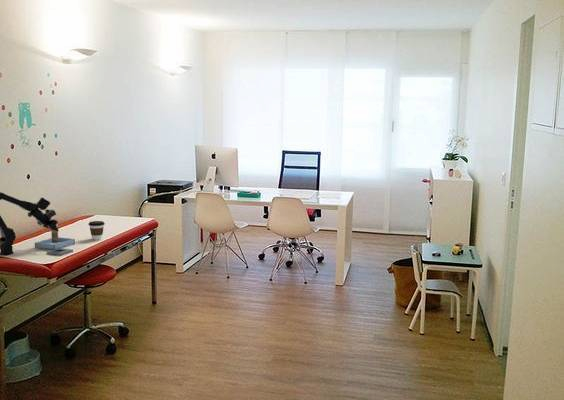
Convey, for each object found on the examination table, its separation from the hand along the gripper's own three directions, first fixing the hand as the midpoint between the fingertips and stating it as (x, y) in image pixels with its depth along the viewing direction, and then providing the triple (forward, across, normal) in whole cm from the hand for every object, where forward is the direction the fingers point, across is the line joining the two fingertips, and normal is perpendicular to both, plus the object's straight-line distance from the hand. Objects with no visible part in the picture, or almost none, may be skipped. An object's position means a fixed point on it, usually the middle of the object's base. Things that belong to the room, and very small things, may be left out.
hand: (56, 230), depth 365 cm
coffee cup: (+28, +1, -14) cm, 32 cm away
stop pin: (+5, 0, +7) cm, 8 cm away
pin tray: (+6, 0, +8) cm, 11 cm away
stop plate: (+2, -20, +13) cm, 24 cm away
